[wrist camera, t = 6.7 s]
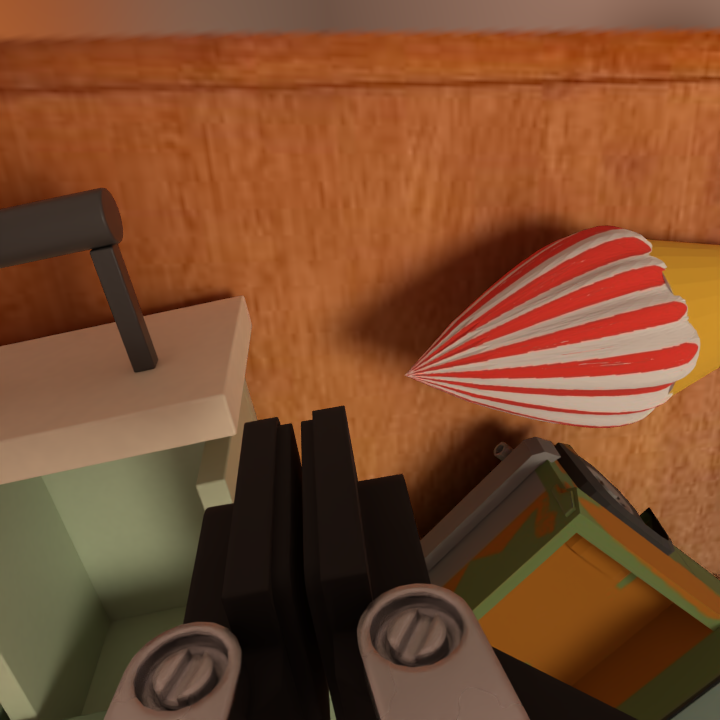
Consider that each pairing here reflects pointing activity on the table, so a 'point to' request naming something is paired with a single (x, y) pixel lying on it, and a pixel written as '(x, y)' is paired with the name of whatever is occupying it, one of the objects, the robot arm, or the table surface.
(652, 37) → the table surface
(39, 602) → the drawer
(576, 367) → the ice cream cone
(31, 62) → the table surface
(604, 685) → the toy truck
